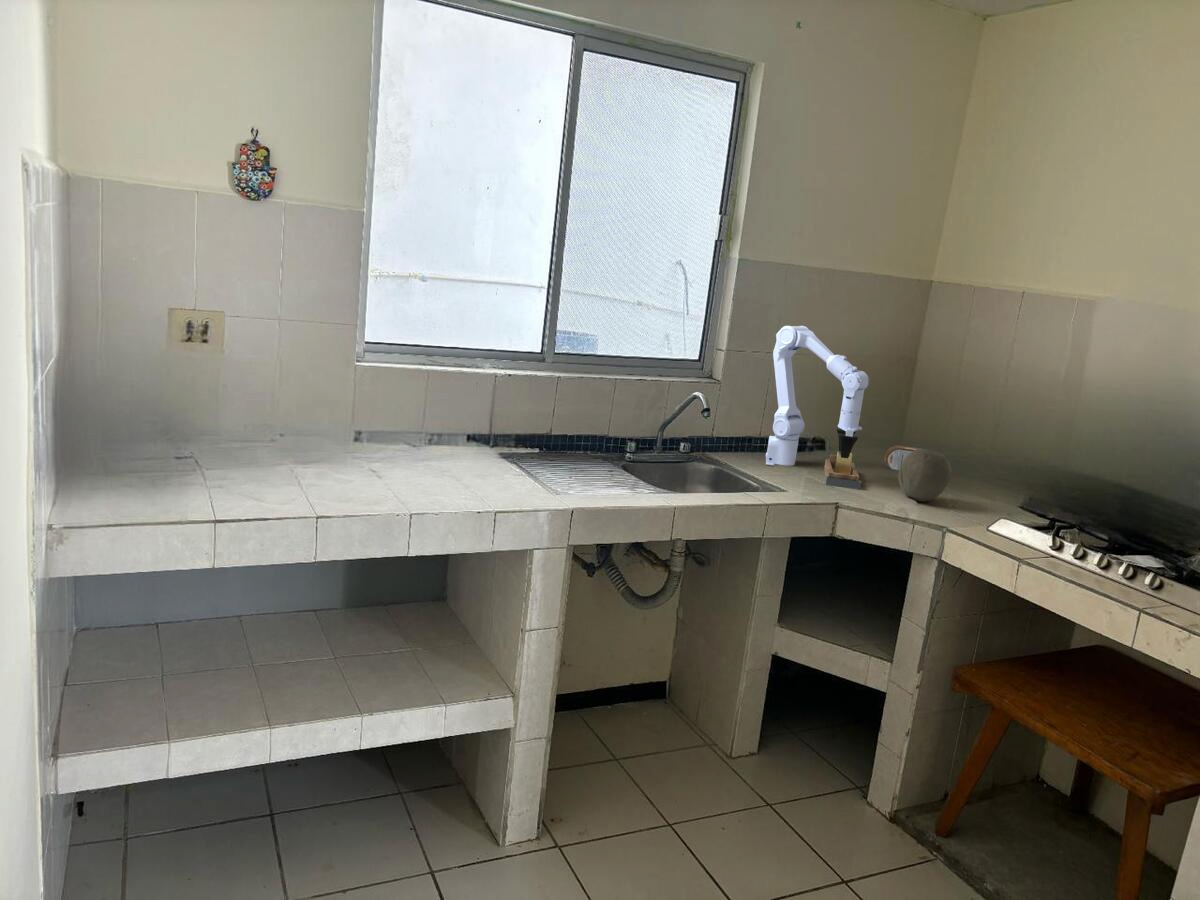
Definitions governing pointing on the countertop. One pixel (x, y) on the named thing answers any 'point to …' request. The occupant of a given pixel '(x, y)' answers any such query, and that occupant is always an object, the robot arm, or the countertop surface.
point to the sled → (830, 471)
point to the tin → (897, 456)
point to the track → (843, 482)
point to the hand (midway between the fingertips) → (843, 455)
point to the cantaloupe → (924, 474)
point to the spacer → (843, 464)
